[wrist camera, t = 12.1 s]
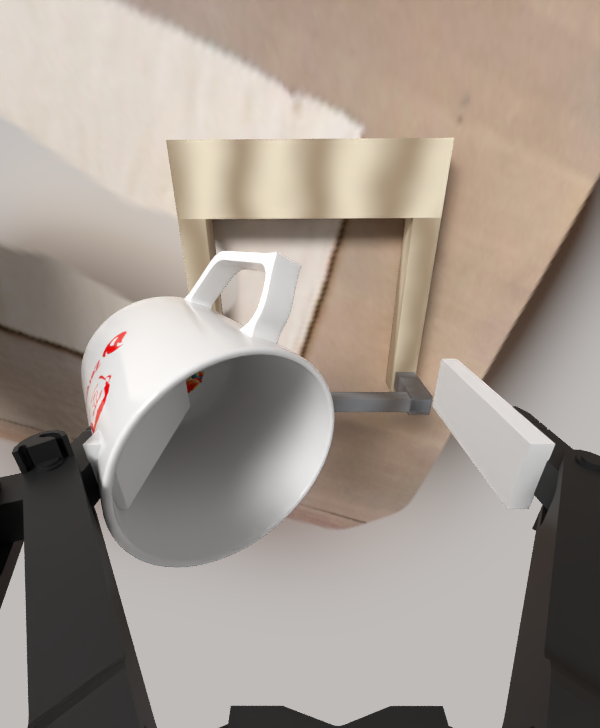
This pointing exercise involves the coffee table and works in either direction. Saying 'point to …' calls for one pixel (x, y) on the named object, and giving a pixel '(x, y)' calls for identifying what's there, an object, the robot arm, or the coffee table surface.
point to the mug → (208, 416)
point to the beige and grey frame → (326, 201)
